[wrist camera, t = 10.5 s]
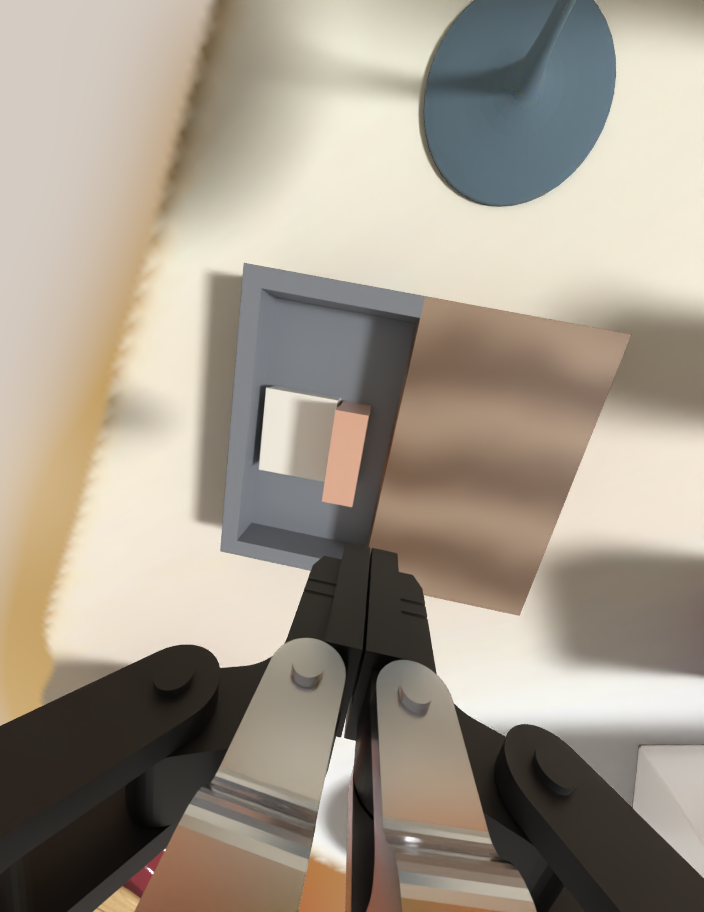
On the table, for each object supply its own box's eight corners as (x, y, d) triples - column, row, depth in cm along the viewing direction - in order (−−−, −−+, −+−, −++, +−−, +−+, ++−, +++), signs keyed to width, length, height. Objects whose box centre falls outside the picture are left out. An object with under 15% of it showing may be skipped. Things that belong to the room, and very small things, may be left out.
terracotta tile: (371, 405, 25) (344, 400, 25) (368, 415, 20) (335, 409, 20) (357, 480, 26) (332, 476, 26) (352, 507, 22) (321, 501, 22)
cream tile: (337, 400, 23) (341, 397, 25) (266, 387, 23) (275, 385, 25) (325, 482, 24) (329, 473, 26) (258, 469, 25) (267, 461, 27)
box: (266, 278, 24) (243, 262, 20) (418, 306, 23) (425, 296, 20) (241, 526, 30) (220, 551, 26) (363, 552, 29) (361, 581, 25)
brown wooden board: (418, 306, 23) (425, 296, 20) (590, 338, 23) (631, 334, 19) (363, 552, 29) (361, 581, 25) (501, 581, 29) (519, 615, 25)
